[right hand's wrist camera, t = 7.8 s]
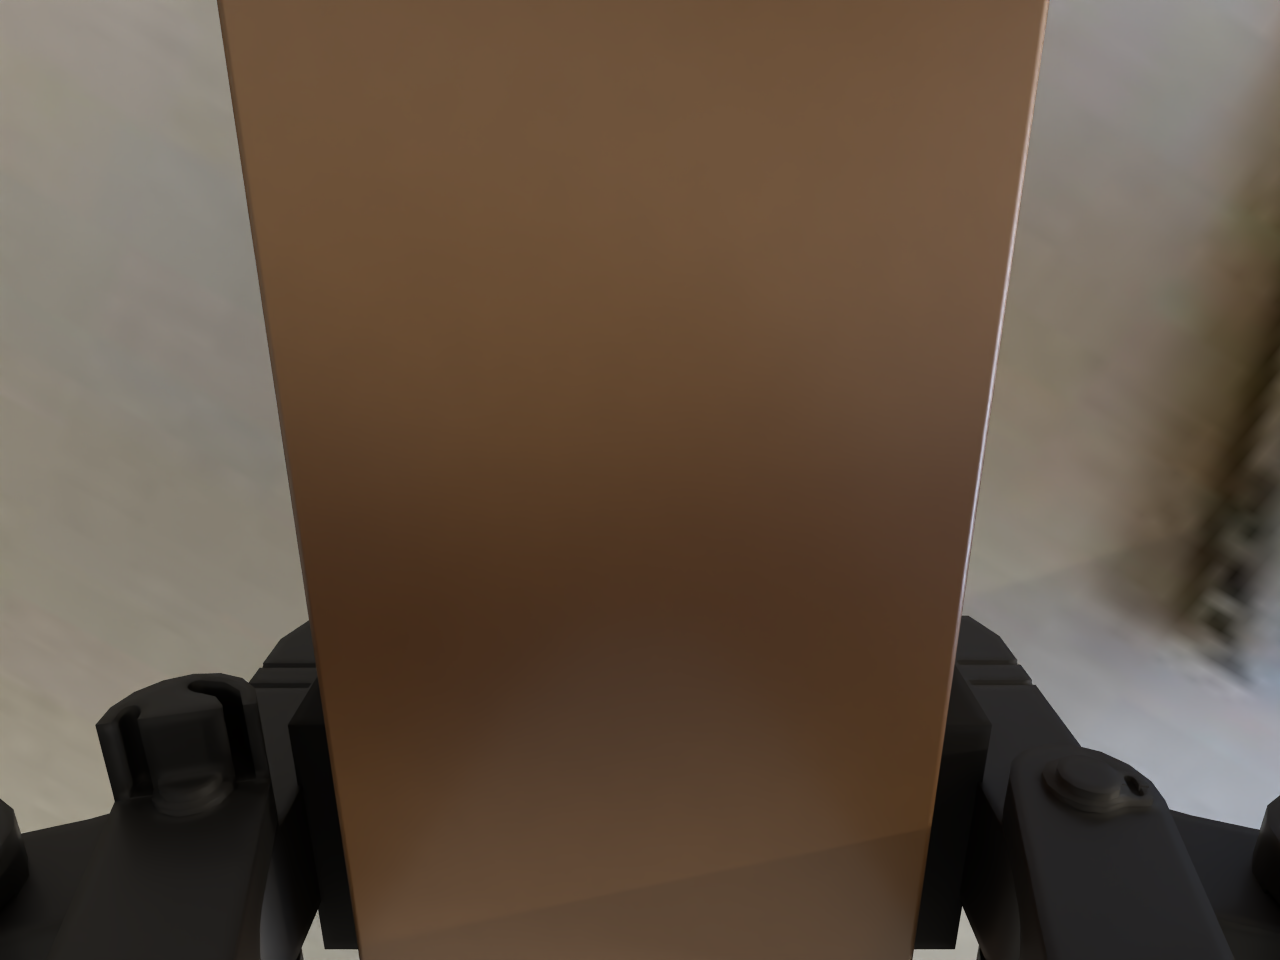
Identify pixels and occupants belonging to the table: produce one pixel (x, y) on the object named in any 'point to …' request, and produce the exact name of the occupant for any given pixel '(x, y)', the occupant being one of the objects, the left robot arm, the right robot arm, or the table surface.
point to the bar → (634, 447)
